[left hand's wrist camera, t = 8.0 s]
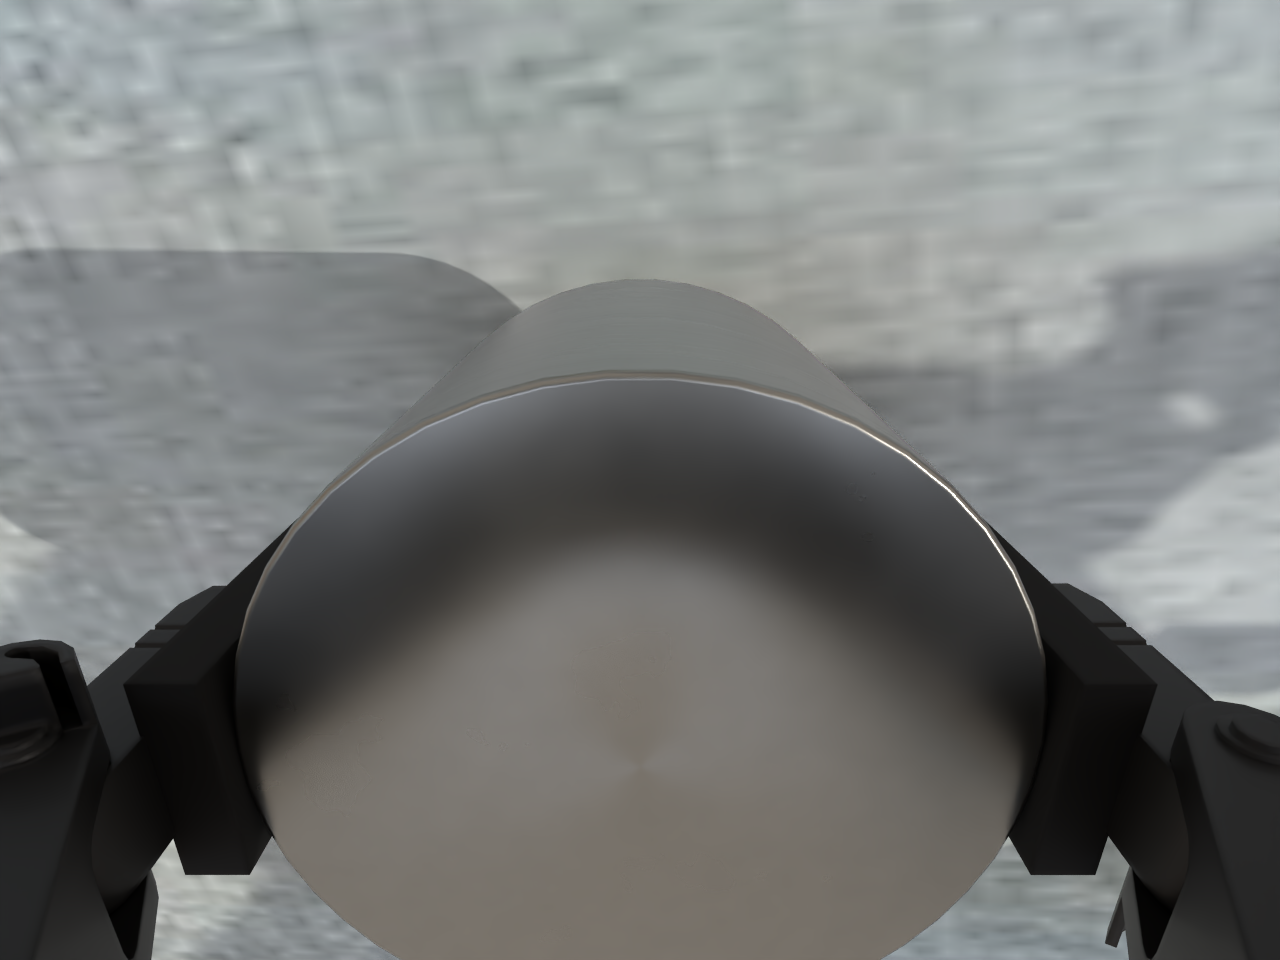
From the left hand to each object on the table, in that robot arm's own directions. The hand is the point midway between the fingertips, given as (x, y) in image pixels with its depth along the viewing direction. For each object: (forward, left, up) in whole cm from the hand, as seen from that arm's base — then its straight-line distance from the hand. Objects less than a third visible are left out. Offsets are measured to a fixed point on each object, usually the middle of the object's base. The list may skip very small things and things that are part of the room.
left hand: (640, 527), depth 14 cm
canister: (0, 0, -1) cm, 1 cm away
